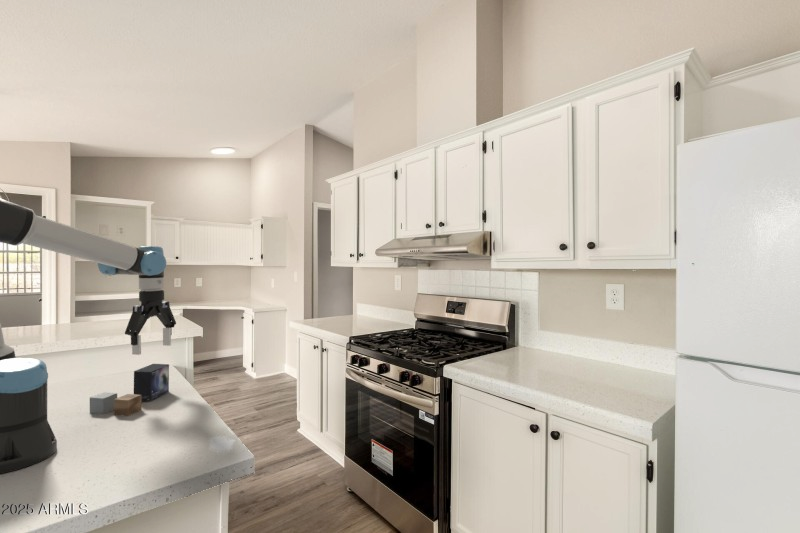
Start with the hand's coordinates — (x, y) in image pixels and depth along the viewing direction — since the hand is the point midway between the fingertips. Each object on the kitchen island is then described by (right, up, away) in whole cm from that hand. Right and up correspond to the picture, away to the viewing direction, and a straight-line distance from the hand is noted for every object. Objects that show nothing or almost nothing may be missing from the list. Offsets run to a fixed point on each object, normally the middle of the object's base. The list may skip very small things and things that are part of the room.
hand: (152, 349), depth 138 cm
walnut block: (+1, -17, -14) cm, 22 cm away
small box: (0, -17, 0) cm, 17 cm away
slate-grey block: (-7, -17, -13) cm, 23 cm away
